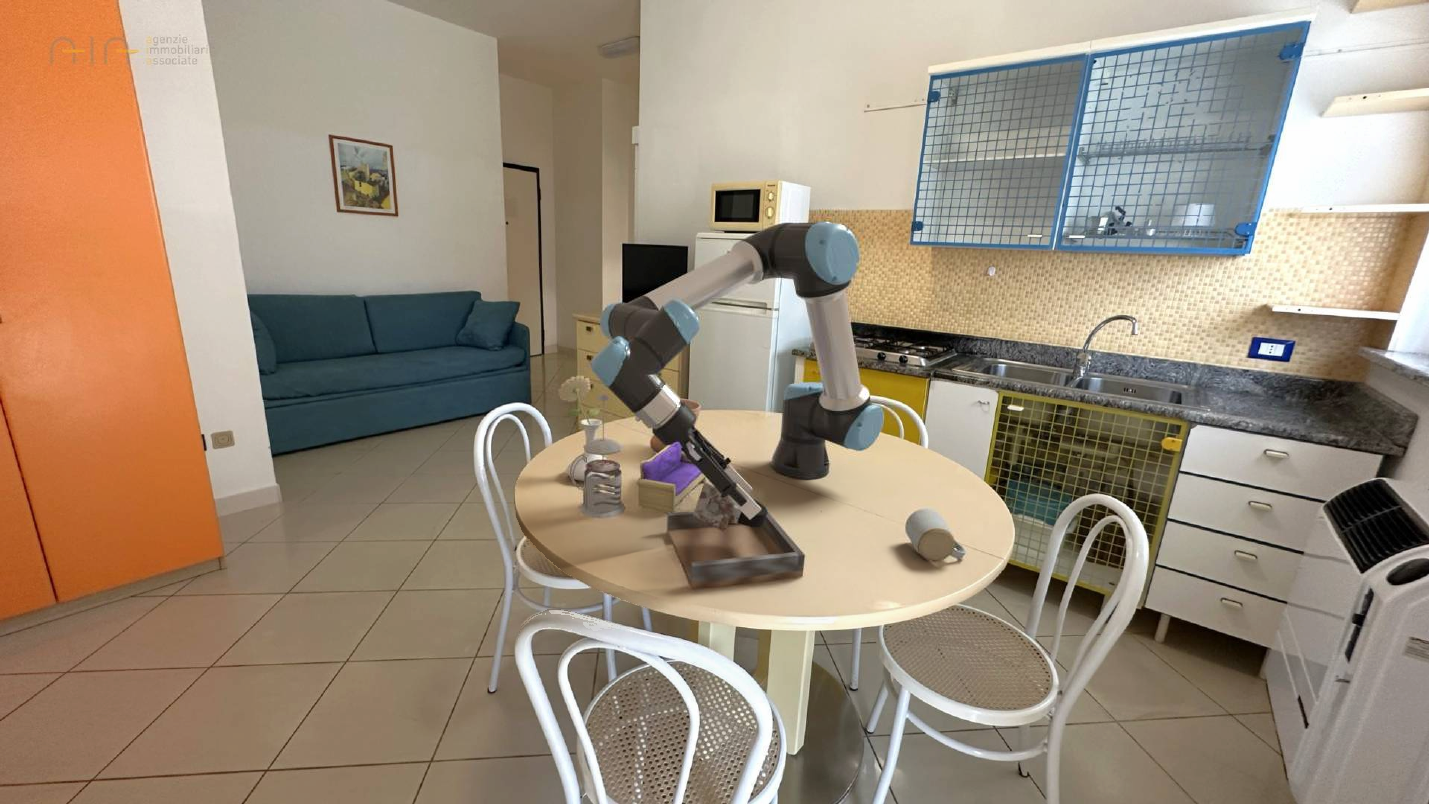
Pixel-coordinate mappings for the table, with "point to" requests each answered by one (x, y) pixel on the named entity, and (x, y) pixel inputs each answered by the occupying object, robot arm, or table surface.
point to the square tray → (732, 551)
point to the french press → (593, 499)
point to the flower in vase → (571, 392)
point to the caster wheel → (724, 510)
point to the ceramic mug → (932, 536)
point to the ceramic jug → (695, 407)
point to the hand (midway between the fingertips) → (750, 503)
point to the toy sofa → (667, 479)
